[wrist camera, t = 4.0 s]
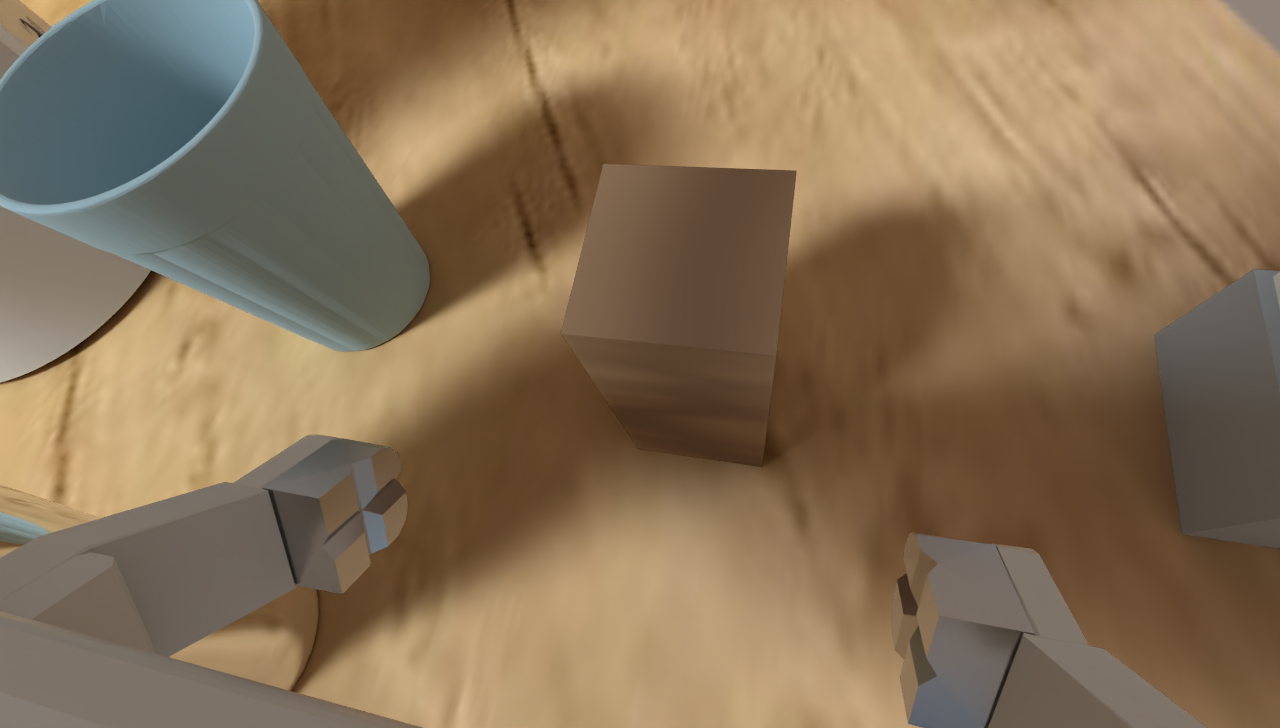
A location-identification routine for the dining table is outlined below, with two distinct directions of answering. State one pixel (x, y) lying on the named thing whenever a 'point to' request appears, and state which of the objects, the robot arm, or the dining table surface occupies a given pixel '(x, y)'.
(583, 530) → the dining table surface
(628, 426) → the walnut pillar
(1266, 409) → the tower base
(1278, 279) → the tower mid
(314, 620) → the beer glass
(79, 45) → the cup
